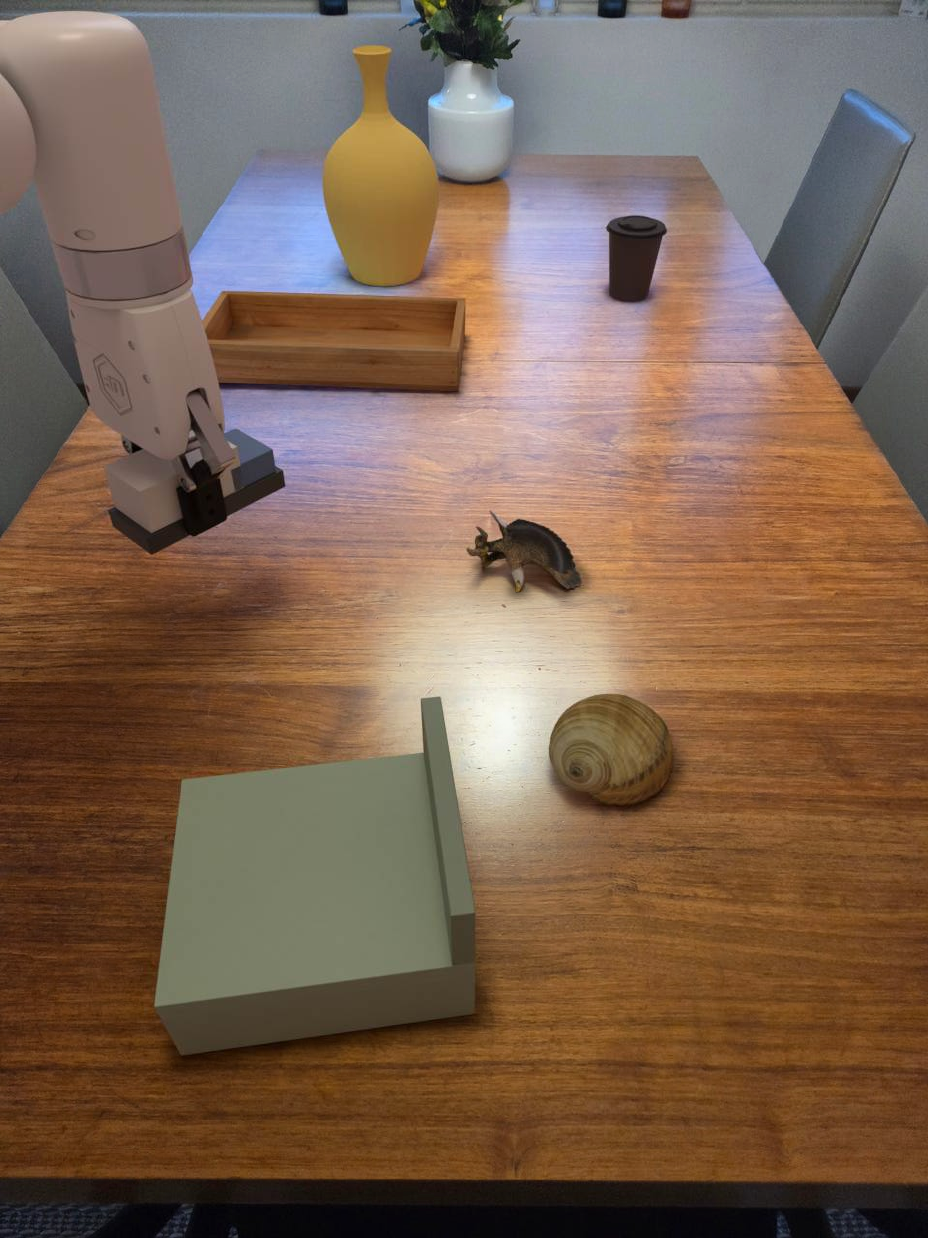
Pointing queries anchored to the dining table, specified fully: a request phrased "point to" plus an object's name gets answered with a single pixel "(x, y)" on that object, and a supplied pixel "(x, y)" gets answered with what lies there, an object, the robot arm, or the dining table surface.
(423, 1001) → the olive lipped platform
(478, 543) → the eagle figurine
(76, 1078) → the dining table surface
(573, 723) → the seashell
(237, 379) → the tray
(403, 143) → the vase
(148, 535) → the black base with blocks
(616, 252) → the coffee cup
